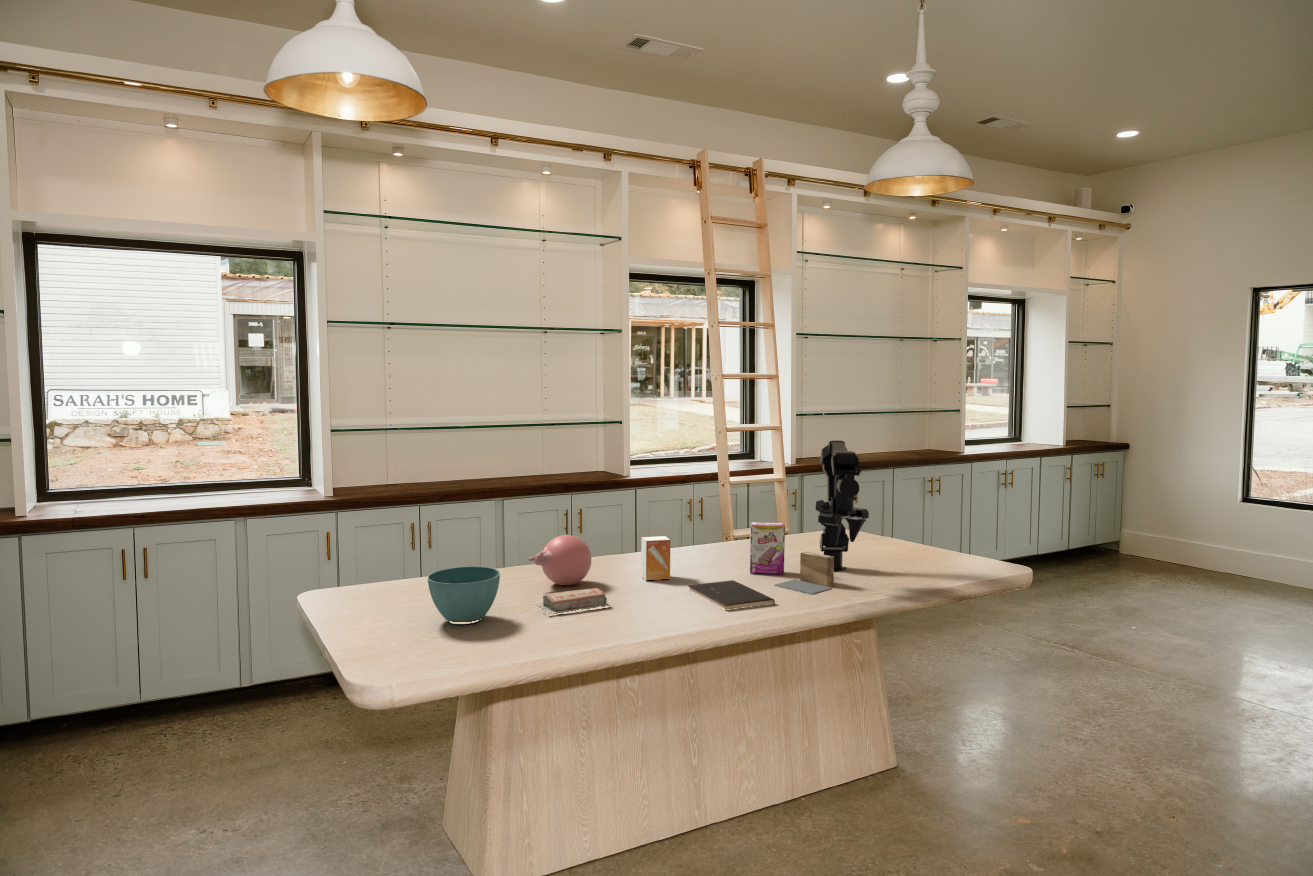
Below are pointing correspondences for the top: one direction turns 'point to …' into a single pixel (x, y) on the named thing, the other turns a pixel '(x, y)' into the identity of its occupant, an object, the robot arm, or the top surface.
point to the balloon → (564, 560)
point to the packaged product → (573, 601)
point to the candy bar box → (767, 548)
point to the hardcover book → (730, 594)
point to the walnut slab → (817, 569)
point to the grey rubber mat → (803, 586)
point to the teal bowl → (464, 592)
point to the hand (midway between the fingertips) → (843, 543)
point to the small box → (655, 558)
